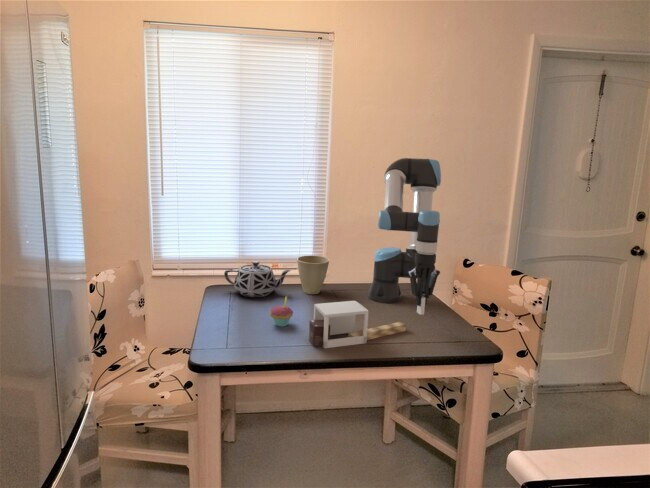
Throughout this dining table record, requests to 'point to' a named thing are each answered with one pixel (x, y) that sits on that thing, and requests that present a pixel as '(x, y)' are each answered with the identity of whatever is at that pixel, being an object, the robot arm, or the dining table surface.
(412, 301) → the dining table surface
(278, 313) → the cupcake
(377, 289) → the robot arm
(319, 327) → the box
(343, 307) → the tunnel
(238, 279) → the teapot
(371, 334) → the rod
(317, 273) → the plant pot
